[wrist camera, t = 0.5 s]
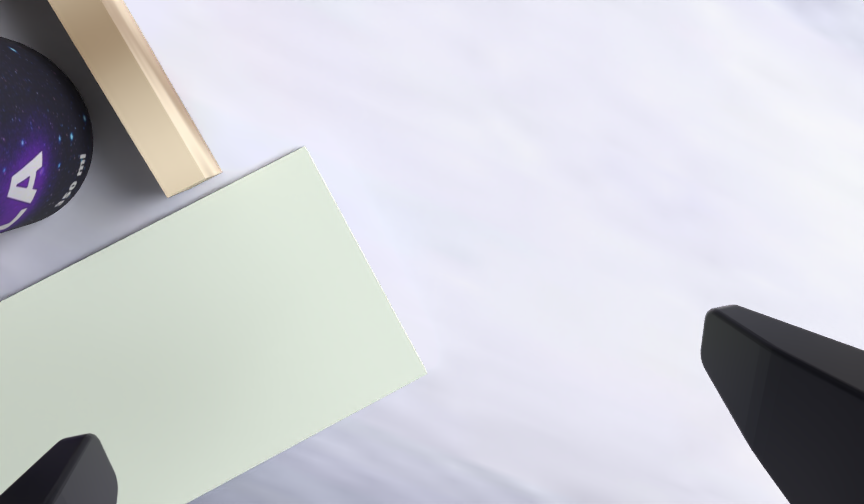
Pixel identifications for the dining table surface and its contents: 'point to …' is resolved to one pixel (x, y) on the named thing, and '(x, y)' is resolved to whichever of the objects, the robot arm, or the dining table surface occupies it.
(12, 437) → the sage pad
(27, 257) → the dining table surface
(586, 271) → the dining table surface
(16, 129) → the beverage can
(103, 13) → the frame
